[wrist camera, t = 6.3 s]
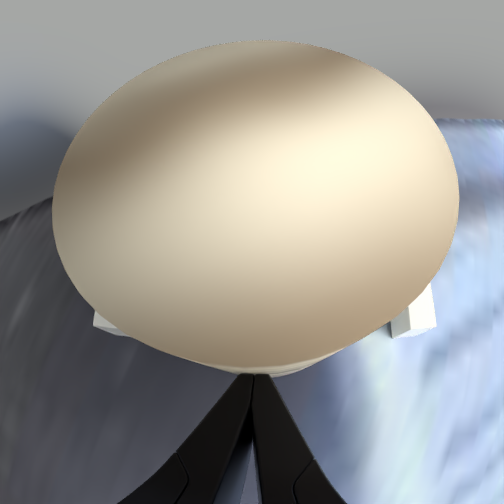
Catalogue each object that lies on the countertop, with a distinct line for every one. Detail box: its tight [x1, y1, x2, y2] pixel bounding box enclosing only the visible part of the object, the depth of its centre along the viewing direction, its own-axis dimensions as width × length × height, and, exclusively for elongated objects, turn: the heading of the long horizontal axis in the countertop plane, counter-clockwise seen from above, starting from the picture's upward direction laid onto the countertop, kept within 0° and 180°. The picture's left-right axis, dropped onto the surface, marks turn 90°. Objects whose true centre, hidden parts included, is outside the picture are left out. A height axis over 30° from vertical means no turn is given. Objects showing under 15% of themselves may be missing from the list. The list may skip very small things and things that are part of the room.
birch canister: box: [52, 40, 459, 378], centre depth 11 cm, size 10×10×11 cm
